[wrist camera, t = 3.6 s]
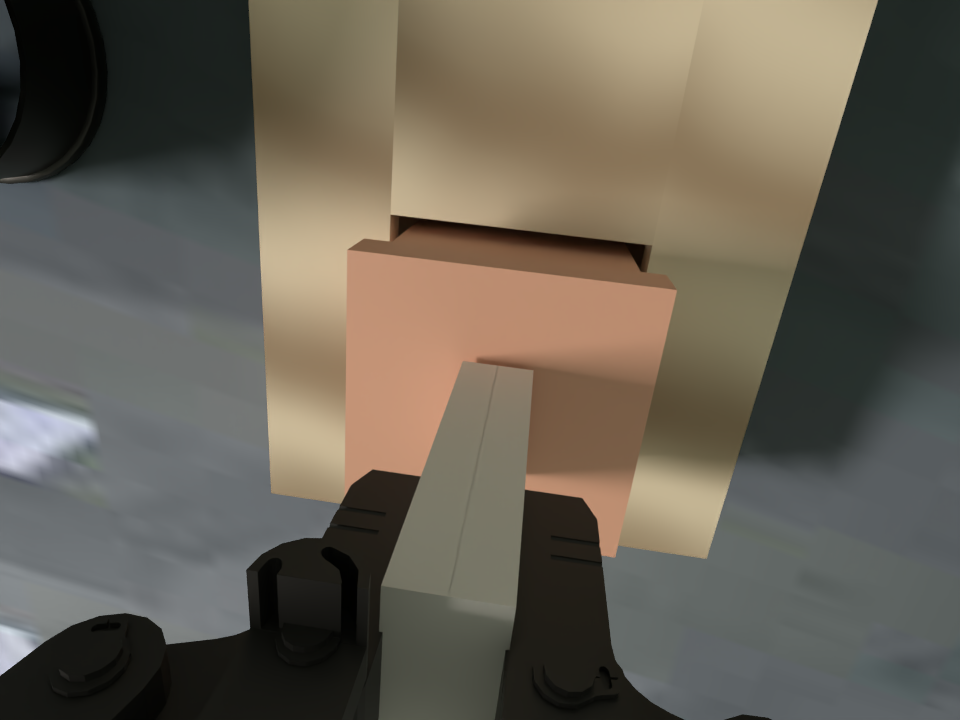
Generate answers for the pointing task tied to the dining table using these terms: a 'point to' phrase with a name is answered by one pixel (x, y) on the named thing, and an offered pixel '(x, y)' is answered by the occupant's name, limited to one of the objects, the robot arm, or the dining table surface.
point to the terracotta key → (506, 351)
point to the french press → (54, 87)
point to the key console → (550, 189)
